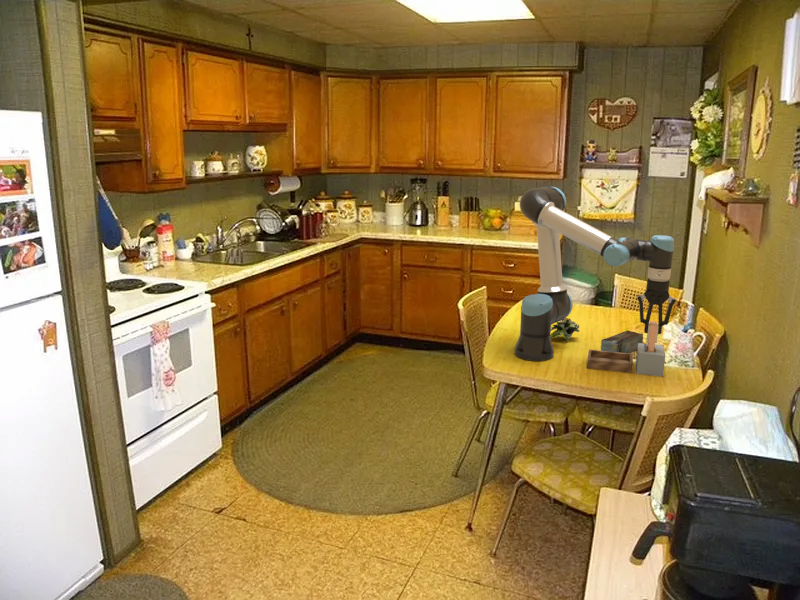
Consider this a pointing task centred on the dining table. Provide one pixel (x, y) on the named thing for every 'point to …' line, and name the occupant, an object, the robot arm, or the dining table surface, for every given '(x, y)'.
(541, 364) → the dining table surface
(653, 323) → the tan wooden bar
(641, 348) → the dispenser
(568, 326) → the green leafy plant
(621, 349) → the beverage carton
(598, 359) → the tray
